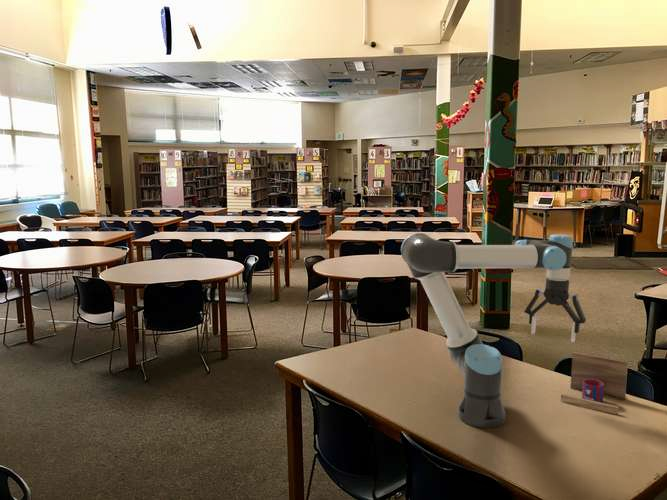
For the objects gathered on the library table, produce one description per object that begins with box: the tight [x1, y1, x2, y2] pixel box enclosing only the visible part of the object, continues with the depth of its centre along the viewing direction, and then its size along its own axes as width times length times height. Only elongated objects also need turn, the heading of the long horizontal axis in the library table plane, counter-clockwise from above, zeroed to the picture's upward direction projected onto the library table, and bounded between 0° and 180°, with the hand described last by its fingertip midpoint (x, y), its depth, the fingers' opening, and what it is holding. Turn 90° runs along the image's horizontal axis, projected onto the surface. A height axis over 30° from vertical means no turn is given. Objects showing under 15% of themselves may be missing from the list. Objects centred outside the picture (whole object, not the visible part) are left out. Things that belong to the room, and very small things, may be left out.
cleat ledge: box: [560, 393, 619, 416], centre depth 180 cm, size 1×18×2 cm, turn 53°
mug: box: [581, 379, 604, 403], centre depth 186 cm, size 7×10×7 cm
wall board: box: [570, 351, 629, 401], centre depth 191 cm, size 3×18×14 cm, turn 53°
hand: (552, 337), depth 186 cm, fingers open, 13 cm apart
